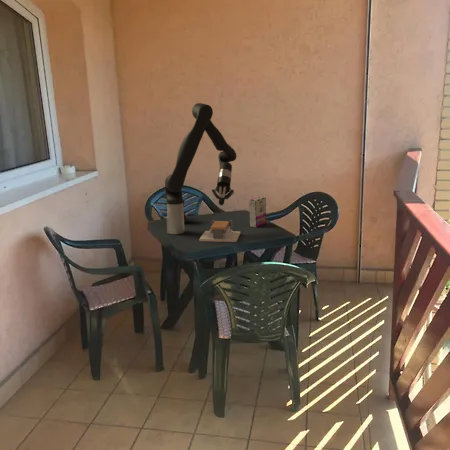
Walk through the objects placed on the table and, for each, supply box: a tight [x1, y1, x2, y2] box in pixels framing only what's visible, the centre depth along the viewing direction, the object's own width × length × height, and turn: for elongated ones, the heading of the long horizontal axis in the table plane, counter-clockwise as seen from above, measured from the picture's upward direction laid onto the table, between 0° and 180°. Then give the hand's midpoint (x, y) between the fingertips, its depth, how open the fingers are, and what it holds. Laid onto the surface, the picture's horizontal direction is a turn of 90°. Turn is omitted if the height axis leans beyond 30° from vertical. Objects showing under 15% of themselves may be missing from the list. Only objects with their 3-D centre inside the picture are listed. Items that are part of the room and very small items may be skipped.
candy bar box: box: [248, 196, 267, 228], centre depth 294 cm, size 11×5×16 cm, turn 143°
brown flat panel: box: [210, 220, 230, 230], centre depth 270 cm, size 8×1×13 cm
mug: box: [183, 199, 189, 225], centre depth 308 cm, size 18×12×15 cm, turn 16°
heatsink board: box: [198, 219, 241, 243], centre depth 271 cm, size 20×17×8 cm
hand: (221, 204), depth 273 cm, fingers closed
